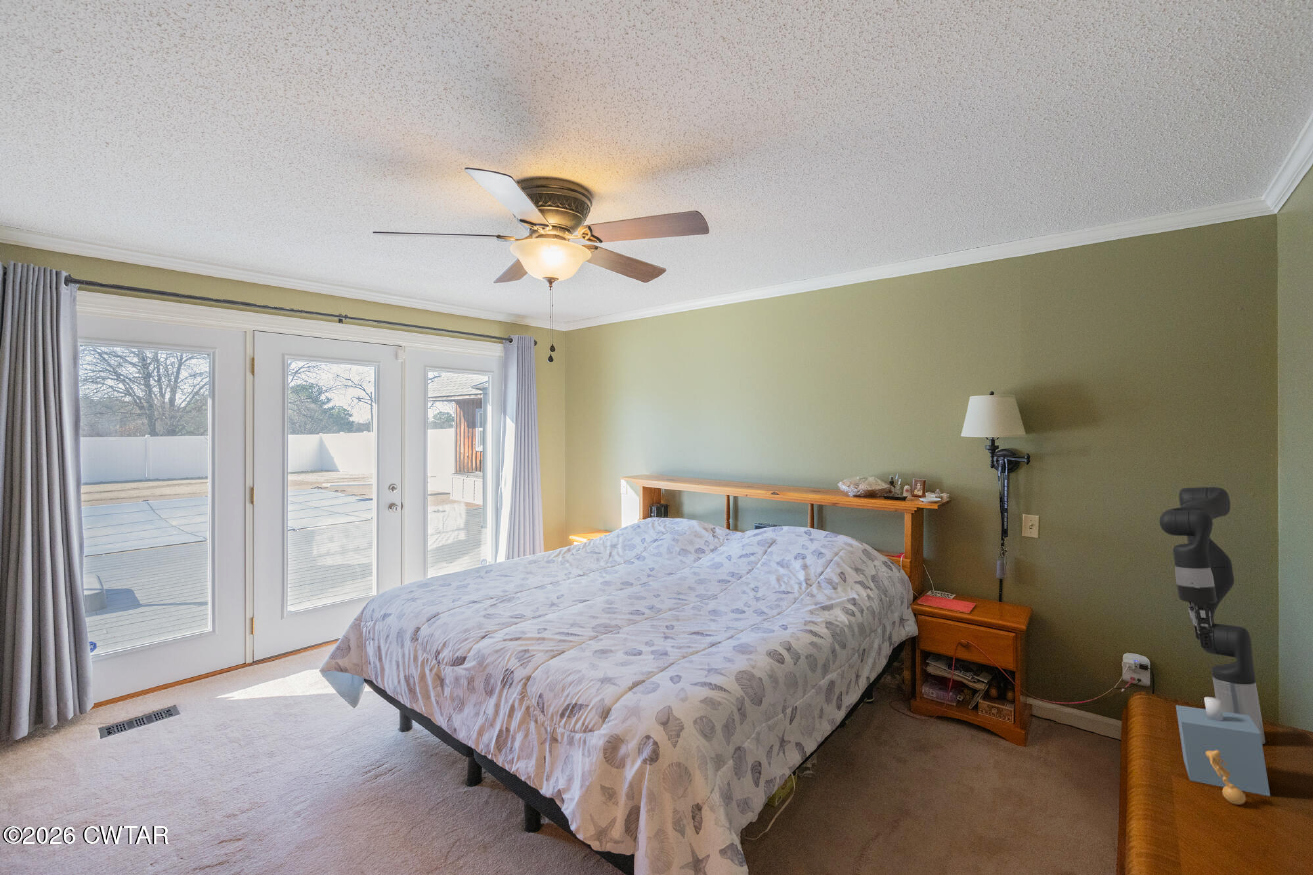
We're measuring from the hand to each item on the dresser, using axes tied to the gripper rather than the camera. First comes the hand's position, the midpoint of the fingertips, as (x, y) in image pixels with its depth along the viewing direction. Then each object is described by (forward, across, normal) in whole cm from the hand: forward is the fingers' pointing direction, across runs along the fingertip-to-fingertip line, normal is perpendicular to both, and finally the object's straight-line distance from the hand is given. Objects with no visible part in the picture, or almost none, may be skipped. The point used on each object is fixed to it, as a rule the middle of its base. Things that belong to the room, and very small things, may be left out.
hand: (1204, 643), depth 151 cm
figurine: (+35, +14, -1) cm, 38 cm away
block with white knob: (+35, 0, 0) cm, 35 cm away
